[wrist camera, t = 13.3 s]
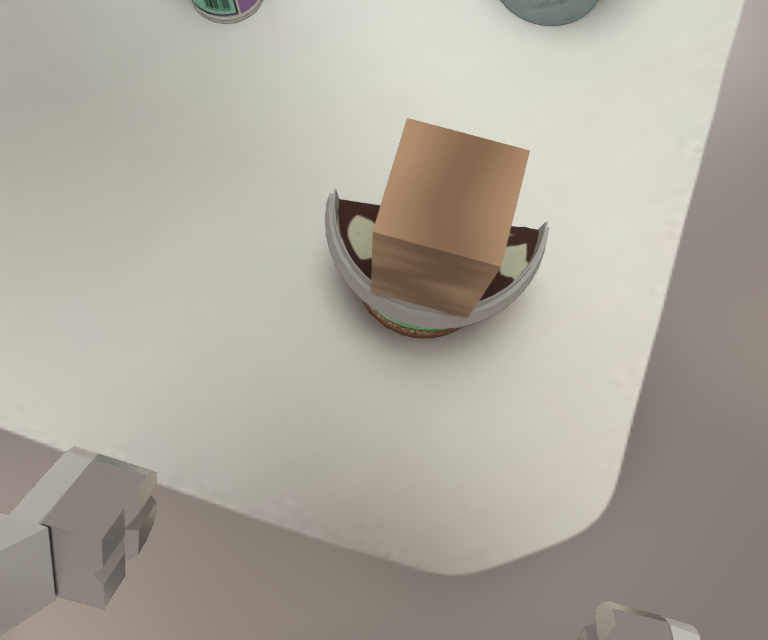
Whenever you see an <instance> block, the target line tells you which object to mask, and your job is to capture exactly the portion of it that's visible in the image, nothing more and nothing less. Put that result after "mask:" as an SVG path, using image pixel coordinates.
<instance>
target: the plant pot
mask: <svg viewBox="0 0 768 640" xmlns="http://www.w3.org/2000/svg"><path fill="white" fill-rule="evenodd" d="M501 1H502V2H503V3H504V5H505V6H506V7H507V8H508V9H509V10H510V11H511V12H513V13H514V14H516V15H517V16H518V17H520V18H522V19H524V20H526V21H529V22H532V23H535V24H540V25H548V26H556V25H564V24H568V23H571V22H573V21H576V20H578V19H580V18H581V17H583V16H584V15H585V14H587V13H588V12H589V11H590V10H591V9H592V8H593V7H594V6H595V4H596V3H597V1H598V0H501Z"/></svg>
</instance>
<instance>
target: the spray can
mask: <svg viewBox="0 0 768 640" xmlns="http://www.w3.org/2000/svg"><path fill="white" fill-rule="evenodd" d="M192 2H193V4H194V6H195V8H196V9H197V11H198V12H199V13H200V14H201V15H203V16H204V17H205V18H207V19H209V20H211V21H214V22H219V23H234V22H238V21H241V20H244V19H246V18H247V17H249V16H251V15H252V14H253V13H254V12H255V11H256V10H257V9H258V8H259V6H260V4H261V2H262V0H192Z"/></svg>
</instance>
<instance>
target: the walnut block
mask: <svg viewBox="0 0 768 640" xmlns="http://www.w3.org/2000/svg"><path fill="white" fill-rule="evenodd" d="M529 152H530V151H529V150H525V149H522V148H518V147H514V146H510V145H507V144H503V143H499V142H495V141H492V140H488V139H484V138H480V137H476V136H473V135H469V134H465V133H461V132H458V131H454V130H450V129H446V128H443V127H439V126H435V125H431V124H428V123H424V122H420V121H416V120H412V119H409V118H407V120H406V124H405V127H404V130H403V134H402V137H401V140H400V143H399V147H398V150H397V153H396V157H395V160H394V163H393V166H392V170H391V173H390V176H389V180H388V183H387V186H386V189H385V193H384V196H383V199H382V203H381V206H380V209H379V212H378V216H377V219H376V222H375V226H374V229H373V236H372V274H371V292H374V293H378V294H381V295H385V296H389V297H392V298H396V299H399V300H403V301H407V302H410V303H414V304H417V305H421V306H425V307H428V308H432V309H435V310H439V311H443V312H446V313H450V314H453V315H457V316H461V317H464V318H468V317H469V315H470V314H471V312H472V311H473V309H474V308H475V306H476V305H477V303H478V302H479V300H480V298H481V297H482V295H483V294H484V292H485V291H486V289H487V288H488V286H489V285H490V283H491V282H492V280H493V279H494V277H495V276H496V274H497V272H498V271H499V269H500V268H501V266H502V262H503V258H504V253H505V249H506V245H507V241H508V237H509V233H510V229H511V225H512V221H513V217H514V213H515V209H516V205H517V201H518V197H519V193H520V189H521V185H522V180H523V176H524V172H525V168H526V164H527V160H528V156H529Z"/></svg>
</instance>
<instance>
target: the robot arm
mask: <svg viewBox="0 0 768 640" xmlns="http://www.w3.org/2000/svg"><path fill="white" fill-rule="evenodd" d="M156 486H157V472H154V471H151V470H148V469H145V468H142V467H139V466H136V465H132V464H129V463H126V462H123V461H120V460H117V459H114V458H110V457H107V456H104V455H101V454H97V453H94V452H91V451H88V450H84V449H81V448H78V447H73V448H71V449H70V450H68V451H66V452H65V453H64V454H63V455H62V456H61V457H60V458H59V459H58V461H57V462H56V463H55V464H54V465H53V466H52V467H51V468H50V470H49V471H48V472H47V473H46V474H45V475H44V476H43V477H42V478H41V480H40V481H39V482H38V483H37V484H36V485H35V486H34V488H33V489H32V490H31V491H30V492H29V493H28V494H27V495H26V496H25V498H24V499H23V500H22V501H21V502H20V503H19V504H18V505H17V506H16V508H15V509H14V510H13V511H12V512H11V513H10V514H9V515H6V514H2V513H0V636H1V635H3V634H5V633H6V632H8V631H9V630H11V629H12V628H14V627H15V626H17V625H18V624H20V623H21V622H23V621H24V620H26V619H27V618H29V617H30V616H31V615H33V614H35V613H36V612H38V611H39V610H41V609H42V608H44V607H45V606H47V605H48V604H50V603H51V602H53V601H54V600H55V599H56V597H60V598H63V599H67V600H71V601H75V602H79V603H83V604H86V605H90V606H94V607H98V608H101V609H105V607H106V606H107V604H108V602H109V601H110V599H111V598H112V596H113V594H114V593H115V591H116V590H117V588H118V586H119V585H120V583H121V582H122V580H123V578H124V577H125V561H127V560H128V559H130V558H132V557H134V556H136V555H138V554H139V552H140V550H141V549H142V547H143V545H144V544H145V542H146V540H147V538H148V535H149V533H150V531H151V528H152V526H153V523H154V518H155V514H156V501H155V500H154V499H153V497H152V496H151V494H152V492H153V491H154V489H155V487H156ZM55 596H56V597H55ZM595 619H596V623H594V624H591V625H589V626H586V627H584V629H583V631H582V632H581V634H580V636H579V637H578V640H700V637H699V634H698V632H697V630H696V629H695V628H694V626H692V625H689V624H685V623H682V622H679V621H675V620H672V619H668V618H665V617H661V616H660V615H657V614H653V613H649V612H646V611H642V610H638V609H635V608H631V607H627V606H624V605H620V604H616V603H613V602H609V601H605V602H603V603H601V604H600V605H599V607H598V608H597V610H596V611H595Z"/></svg>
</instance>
